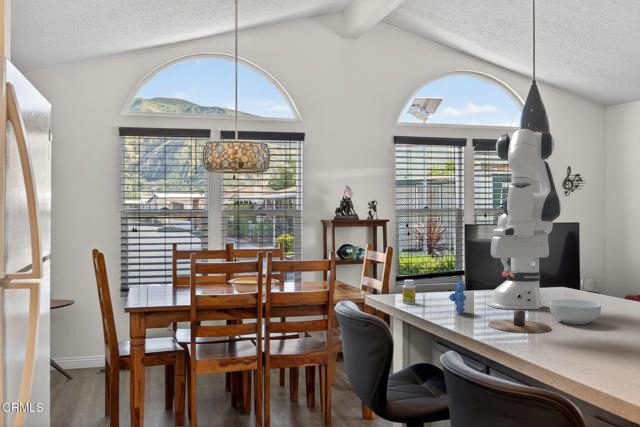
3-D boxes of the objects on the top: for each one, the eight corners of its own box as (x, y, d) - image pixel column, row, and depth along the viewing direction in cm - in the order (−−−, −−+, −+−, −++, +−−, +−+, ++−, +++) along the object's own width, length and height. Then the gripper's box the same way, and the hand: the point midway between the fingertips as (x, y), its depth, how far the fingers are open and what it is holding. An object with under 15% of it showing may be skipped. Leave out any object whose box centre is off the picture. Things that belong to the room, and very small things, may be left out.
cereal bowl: (538, 319, 217) (539, 300, 217) (573, 316, 223) (573, 298, 223) (575, 328, 201) (576, 307, 201) (611, 325, 208) (612, 305, 208)
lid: (507, 335, 191) (507, 316, 191) (478, 323, 211) (478, 306, 211) (563, 333, 196) (563, 314, 196) (529, 321, 215) (529, 305, 215)
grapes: (448, 310, 236) (448, 279, 236) (465, 310, 235) (466, 280, 235) (448, 315, 225) (449, 283, 225) (467, 315, 223) (467, 283, 223)
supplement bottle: (416, 302, 255) (416, 279, 255) (414, 304, 250) (414, 281, 250) (403, 301, 256) (403, 279, 256) (401, 303, 251) (401, 280, 251)
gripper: (542, 229, 208) (542, 269, 208) (488, 230, 204) (488, 270, 204) (553, 230, 202) (552, 271, 202) (497, 230, 198) (497, 272, 198)
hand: (519, 271), depth 203 cm, fingers open, 8 cm apart
